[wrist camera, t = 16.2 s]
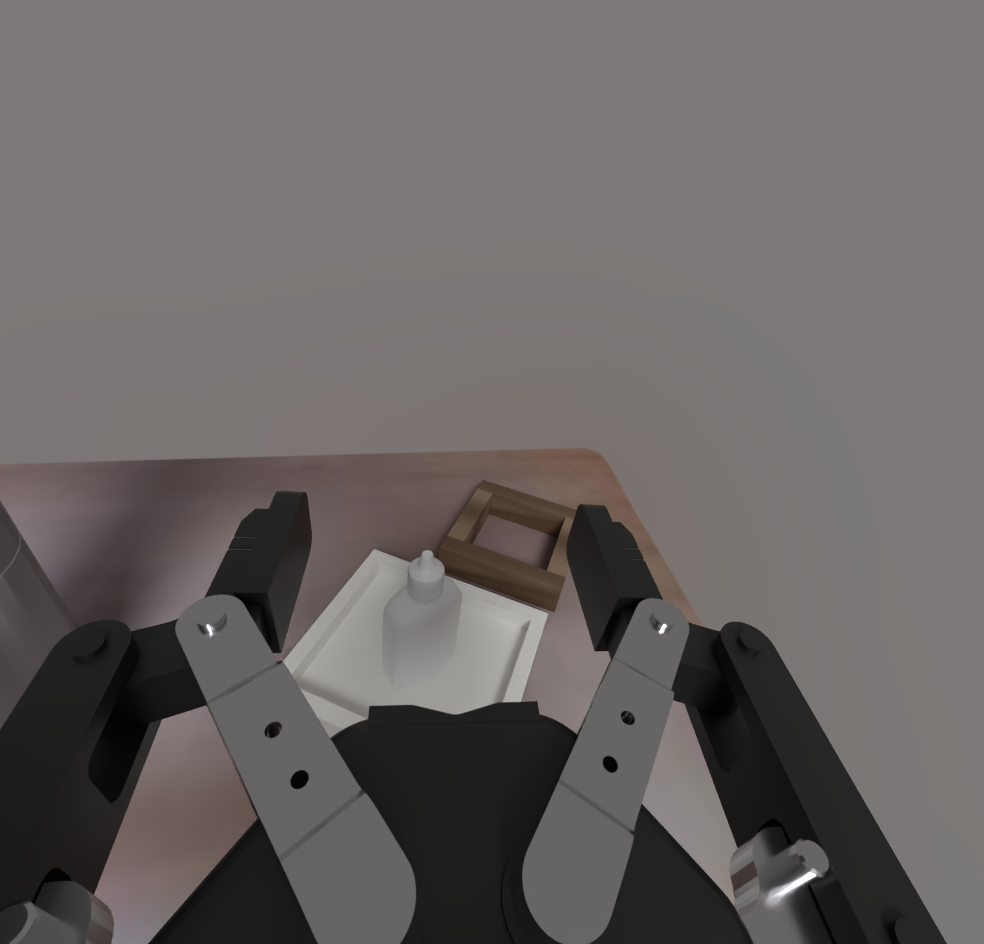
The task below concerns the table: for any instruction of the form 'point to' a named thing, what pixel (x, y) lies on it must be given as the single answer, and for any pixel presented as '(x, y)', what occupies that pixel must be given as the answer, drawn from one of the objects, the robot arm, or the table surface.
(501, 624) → the tray
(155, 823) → the table surface
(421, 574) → the eye dropper bottle
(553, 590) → the walnut holder
